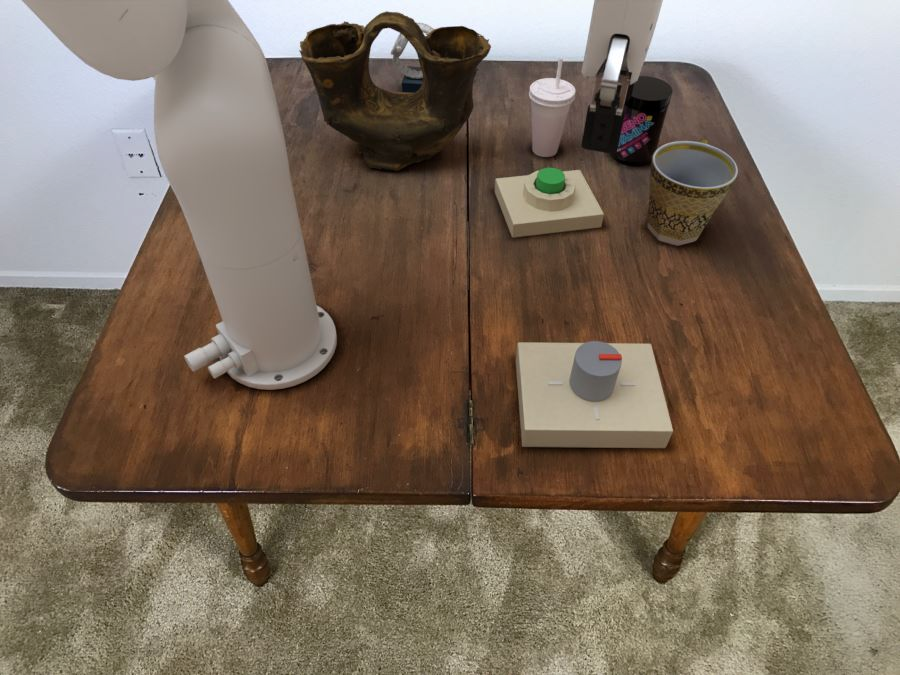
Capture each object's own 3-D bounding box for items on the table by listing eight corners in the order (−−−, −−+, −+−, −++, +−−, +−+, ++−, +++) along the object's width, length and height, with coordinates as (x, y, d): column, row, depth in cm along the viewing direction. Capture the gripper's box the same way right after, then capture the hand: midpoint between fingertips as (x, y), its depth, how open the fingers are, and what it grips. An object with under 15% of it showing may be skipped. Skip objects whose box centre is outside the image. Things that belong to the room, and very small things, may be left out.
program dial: (571, 401, 66) (578, 373, 63) (567, 366, 69) (573, 338, 66) (617, 401, 66) (626, 374, 63) (610, 366, 69) (618, 338, 66)
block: (512, 238, 87) (514, 212, 84) (494, 191, 93) (496, 166, 90) (601, 227, 88) (606, 202, 85) (577, 182, 95) (582, 158, 92)
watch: (396, 83, 113) (392, 16, 105) (444, 86, 113) (444, 19, 104) (390, 100, 109) (386, 32, 101) (439, 103, 109) (439, 35, 101)
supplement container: (601, 144, 101) (614, 78, 94) (643, 139, 102) (660, 73, 95) (618, 170, 97) (633, 103, 89) (662, 164, 98) (681, 97, 90)
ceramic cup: (704, 263, 84) (730, 197, 76) (625, 241, 87) (643, 174, 79) (723, 205, 92) (747, 140, 84) (650, 186, 94) (668, 121, 87)
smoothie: (564, 165, 98) (578, 71, 87) (520, 159, 99) (529, 66, 88) (568, 141, 102) (582, 49, 91) (525, 136, 103) (535, 44, 92)
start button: (539, 196, 87) (541, 185, 85) (532, 180, 89) (533, 168, 88) (566, 193, 87) (568, 182, 86) (558, 177, 90) (560, 166, 88)
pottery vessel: (486, 137, 102) (493, 1, 88) (483, 179, 95) (491, 39, 80) (322, 129, 103) (302, -6, 89) (307, 171, 96) (283, 30, 81)
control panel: (522, 447, 66) (524, 428, 63) (515, 360, 73) (517, 340, 71) (665, 448, 66) (674, 430, 64) (644, 361, 73) (651, 342, 71)
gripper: (614, -118, 58) (583, 74, 71) (578, -47, 47) (549, 165, 60) (704, -109, 56) (656, 85, 69) (689, -34, 45) (635, 180, 58)
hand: (607, 122), depth 64 cm, fingers open, 9 cm apart
